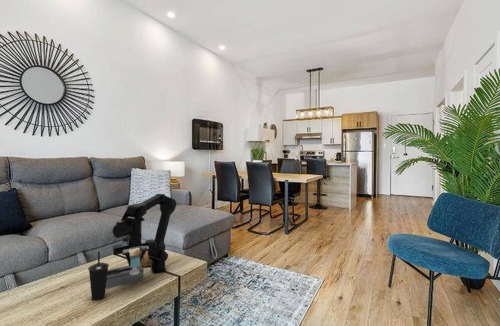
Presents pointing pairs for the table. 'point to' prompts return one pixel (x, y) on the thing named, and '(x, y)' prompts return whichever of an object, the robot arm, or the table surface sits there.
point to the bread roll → (144, 258)
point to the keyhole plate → (123, 276)
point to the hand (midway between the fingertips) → (134, 264)
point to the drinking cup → (98, 279)
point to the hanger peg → (134, 264)
